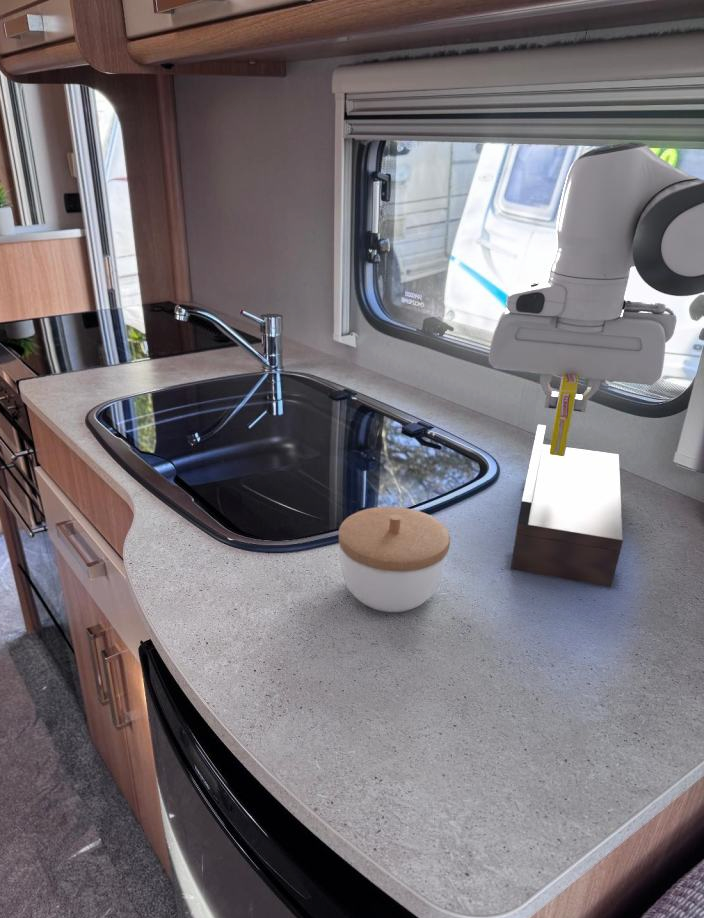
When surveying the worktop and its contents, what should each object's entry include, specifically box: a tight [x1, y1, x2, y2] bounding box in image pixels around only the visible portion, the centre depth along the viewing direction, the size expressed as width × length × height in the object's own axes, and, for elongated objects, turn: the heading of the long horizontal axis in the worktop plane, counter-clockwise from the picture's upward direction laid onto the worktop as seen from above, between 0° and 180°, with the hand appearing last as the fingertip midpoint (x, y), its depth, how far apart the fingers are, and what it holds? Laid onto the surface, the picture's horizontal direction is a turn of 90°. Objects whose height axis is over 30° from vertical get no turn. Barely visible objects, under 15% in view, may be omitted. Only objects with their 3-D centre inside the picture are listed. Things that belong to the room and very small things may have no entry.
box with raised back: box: [509, 424, 624, 588], centre depth 98 cm, size 12×26×10 cm, turn 161°
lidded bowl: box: [338, 506, 451, 613], centre depth 84 cm, size 13×13×11 cm
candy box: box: [550, 374, 579, 457], centre depth 91 cm, size 16×2×8 cm, turn 161°
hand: (564, 408), depth 92 cm, fingers closed on candy box, 2 cm apart
